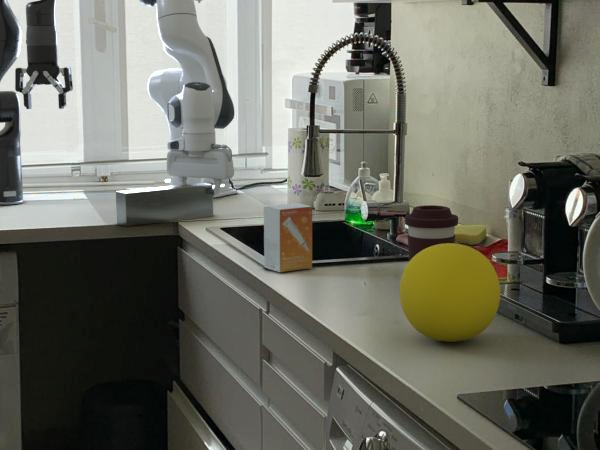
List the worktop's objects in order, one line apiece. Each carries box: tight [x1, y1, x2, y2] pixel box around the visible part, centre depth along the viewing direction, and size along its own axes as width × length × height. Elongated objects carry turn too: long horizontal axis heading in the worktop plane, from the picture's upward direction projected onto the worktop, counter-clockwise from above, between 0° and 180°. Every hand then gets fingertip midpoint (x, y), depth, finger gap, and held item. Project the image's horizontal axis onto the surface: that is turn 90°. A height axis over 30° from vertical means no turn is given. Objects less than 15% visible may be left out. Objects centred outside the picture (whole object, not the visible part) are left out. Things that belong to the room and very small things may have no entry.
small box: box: [263, 202, 313, 273], centre depth 214 cm, size 8×6×13 cm
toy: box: [399, 243, 501, 343], centre depth 160 cm, size 15×15×15 cm
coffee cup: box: [404, 204, 459, 262], centre depth 197 cm, size 10×10×15 cm
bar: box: [115, 183, 214, 227], centre depth 278 cm, size 26×5×9 cm, turn 127°
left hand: (45, 108), depth 266 cm, fingers open, 8 cm apart
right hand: (200, 194), depth 285 cm, fingers open, 8 cm apart
